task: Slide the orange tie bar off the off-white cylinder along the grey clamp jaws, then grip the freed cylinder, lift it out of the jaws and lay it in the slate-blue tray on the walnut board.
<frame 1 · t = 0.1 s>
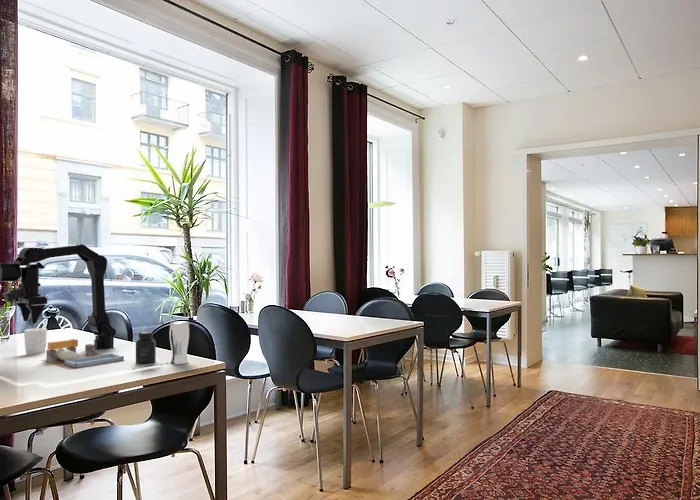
hand: (29, 322, 199), 15 cm above the table, tool pointing down, fingers open, 9 cm apart
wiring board: (83, 363, 196), on the table
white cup: (35, 355, 211), on the table
off-white cylinder: (65, 360, 195), point 1 cm above the table, touching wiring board
beer glass: (179, 363, 196), on the table
tie bar: (62, 344, 197), point 7 cm above the table, slide at 0.0 cm
supplement bottle: (145, 365, 192), on the table
tray: (94, 362, 192), resting on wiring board
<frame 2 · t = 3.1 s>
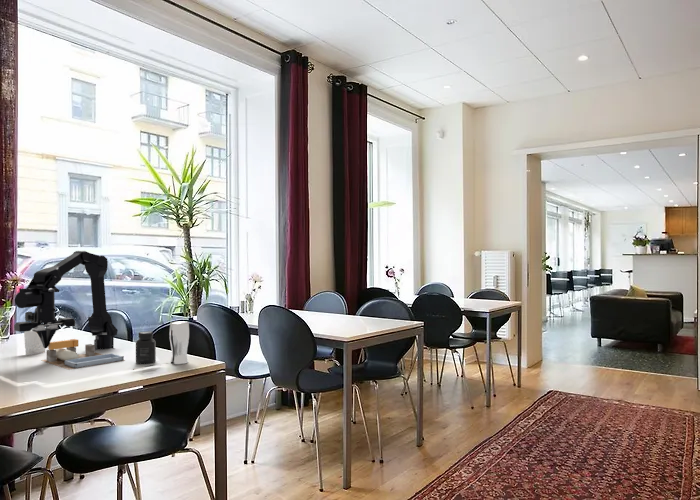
hand: (45, 348, 193), 6 cm above the table, tool pointing down, fingers closed
tie bar: (63, 344, 197), point 7 cm above the table, slide at 0.2 cm, touching gripper
everything else where it was.
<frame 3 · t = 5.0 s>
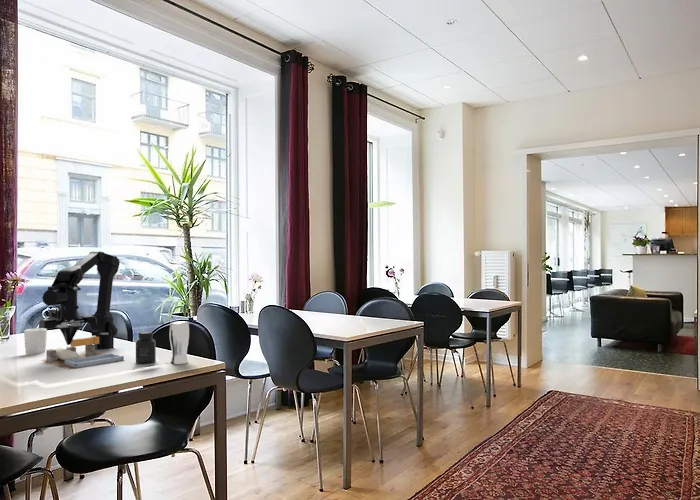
hand: (68, 344, 199), 6 cm above the table, tool pointing down, fingers closed
tie bar: (84, 341, 203), point 7 cm above the table, slide at 8.1 cm, touching gripper
everything else where it was.
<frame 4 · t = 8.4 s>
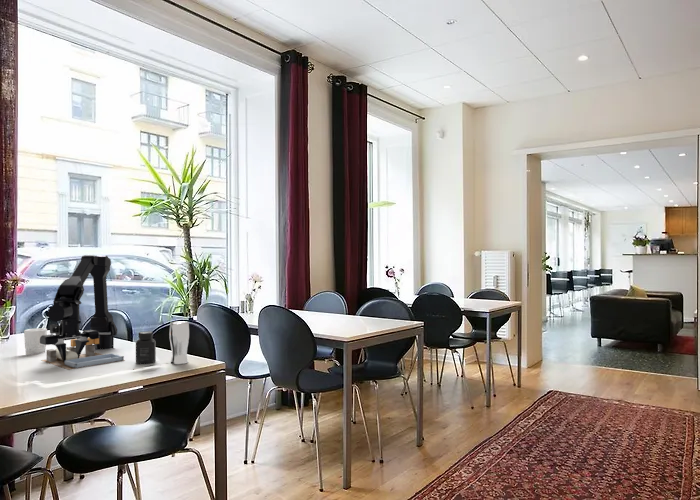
hand: (70, 360, 192), 2 cm above the table, tool pointing down, fingers closed on off-white cylinder, 4 cm apart
off-white cylinder: (65, 360, 195), point 1 cm above the table, touching gripper, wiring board
tie bar: (84, 341, 203), point 7 cm above the table, slide at 8.1 cm
everything else where it was.
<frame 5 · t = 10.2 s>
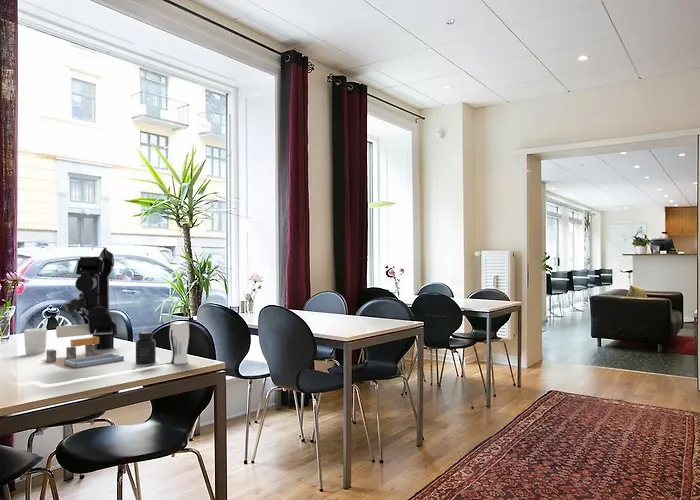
hand: (90, 333, 192), 12 cm above the table, tool pointing down, fingers closed on off-white cylinder, 4 cm apart
off-white cylinder: (76, 336, 189), point 11 cm above the table, touching gripper
everything else where it was.
when the fingers open (3 cm above the table, at t = 12.1 s): off-white cylinder stays where it is, resting on tray.
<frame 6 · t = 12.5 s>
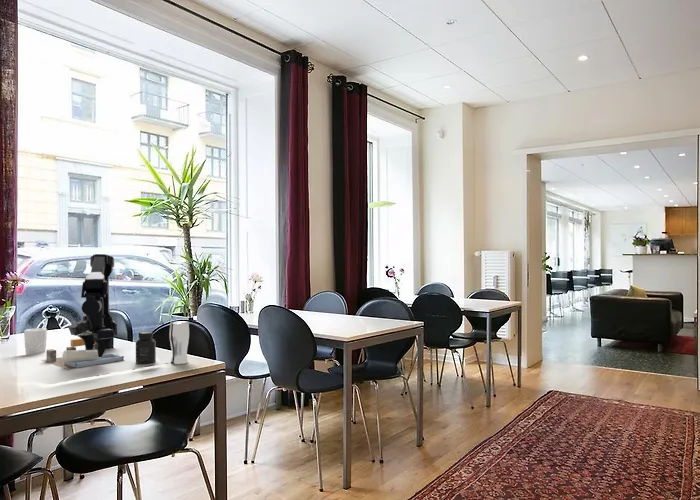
hand: (94, 355, 192), 3 cm above the table, tool pointing down, fingers open, 8 cm apart
off-white cylinder: (81, 361, 188), point 2 cm above the table, tilted 7°, touching tray
everything else where it was.
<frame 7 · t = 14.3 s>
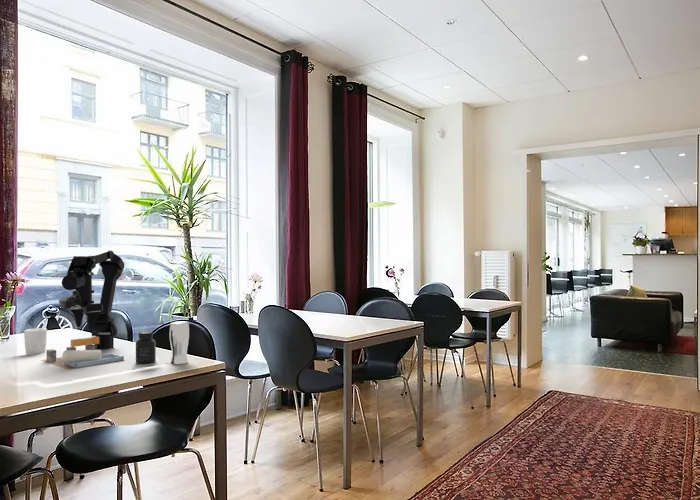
hand: (83, 328, 204), 12 cm above the table, tool pointing down, fingers open, 9 cm apart
nothing on the table moved.
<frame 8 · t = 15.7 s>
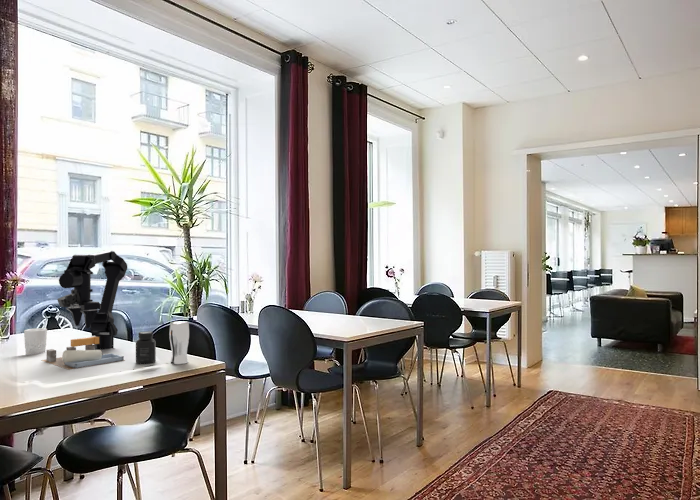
hand: (82, 326, 205), 12 cm above the table, tool pointing down, fingers open, 9 cm apart
nothing on the table moved.
at the end: tie bar slide at 8.1 cm; off-white cylinder inside the target area (4.5 cm from its centre), point 2.1 cm above the table; the gripper is holding nothing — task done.
